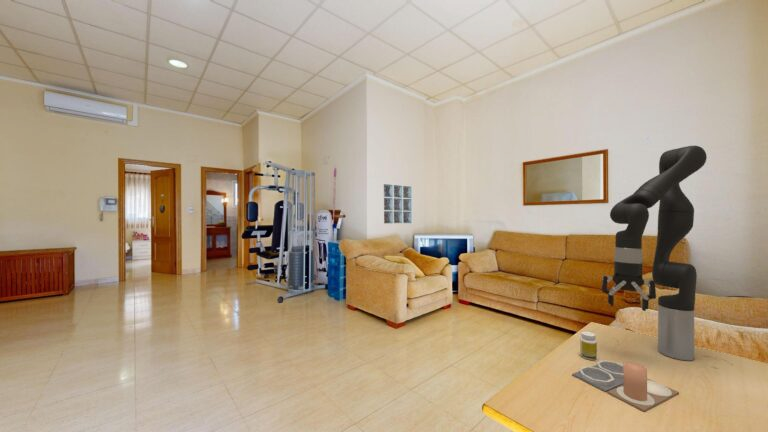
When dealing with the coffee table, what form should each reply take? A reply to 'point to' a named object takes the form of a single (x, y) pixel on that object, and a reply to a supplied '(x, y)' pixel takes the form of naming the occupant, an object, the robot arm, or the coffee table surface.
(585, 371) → the board
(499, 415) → the coffee table surface
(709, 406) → the coffee table surface
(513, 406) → the coffee table surface
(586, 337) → the supplement bottle
